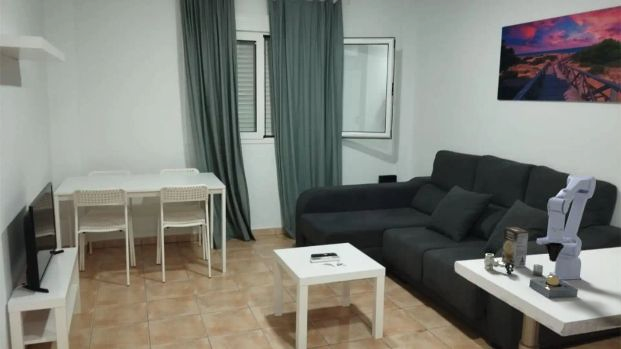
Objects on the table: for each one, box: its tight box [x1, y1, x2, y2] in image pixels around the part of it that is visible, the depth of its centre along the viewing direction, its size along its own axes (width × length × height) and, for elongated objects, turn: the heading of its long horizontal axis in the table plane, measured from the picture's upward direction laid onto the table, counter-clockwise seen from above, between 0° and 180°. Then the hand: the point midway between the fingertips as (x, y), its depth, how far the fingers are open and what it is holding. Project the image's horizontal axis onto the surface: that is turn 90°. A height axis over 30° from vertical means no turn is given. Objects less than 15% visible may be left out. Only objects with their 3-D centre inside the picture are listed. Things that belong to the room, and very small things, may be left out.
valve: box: [483, 252, 516, 275], centre depth 218 cm, size 7×7×12 cm
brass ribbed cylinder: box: [546, 274, 559, 287], centre depth 196 cm, size 4×4×6 cm
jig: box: [528, 278, 579, 299], centre depth 196 cm, size 12×12×3 cm
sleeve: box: [532, 263, 544, 277], centre depth 215 cm, size 4×4×4 cm
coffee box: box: [501, 226, 530, 268], centre depth 228 cm, size 9×6×16 cm
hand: (552, 260), depth 202 cm, fingers closed
